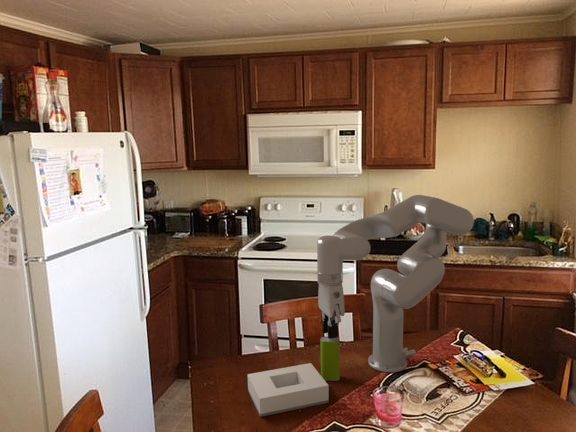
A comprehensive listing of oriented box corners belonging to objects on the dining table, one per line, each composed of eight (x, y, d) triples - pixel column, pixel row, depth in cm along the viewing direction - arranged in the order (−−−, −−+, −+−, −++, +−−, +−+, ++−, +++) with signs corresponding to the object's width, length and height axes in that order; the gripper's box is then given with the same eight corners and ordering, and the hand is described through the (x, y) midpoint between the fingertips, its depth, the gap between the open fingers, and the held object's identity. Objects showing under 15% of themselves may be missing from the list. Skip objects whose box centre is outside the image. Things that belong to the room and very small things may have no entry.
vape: (340, 381, 147) (339, 318, 144) (320, 380, 148) (319, 318, 145) (340, 375, 151) (339, 314, 148) (321, 374, 152) (320, 313, 149)
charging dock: (311, 378, 149) (310, 363, 148) (328, 402, 136) (328, 385, 135) (248, 390, 143) (247, 374, 142) (260, 416, 130) (259, 398, 129)
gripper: (353, 283, 137) (353, 344, 140) (330, 268, 153) (330, 323, 156) (329, 287, 135) (329, 348, 138) (308, 271, 150) (309, 326, 153)
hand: (330, 334), depth 147 cm, fingers closed on vape, 3 cm apart
